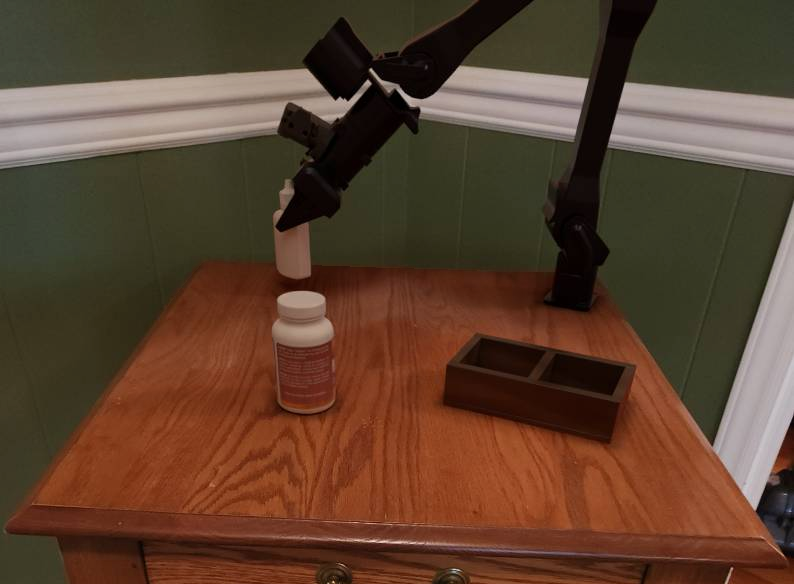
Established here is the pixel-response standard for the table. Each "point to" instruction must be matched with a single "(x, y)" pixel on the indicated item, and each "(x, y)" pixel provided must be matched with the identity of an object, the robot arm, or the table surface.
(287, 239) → the eye dropper bottle
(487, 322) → the table surface
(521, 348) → the box
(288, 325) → the pill bottle
